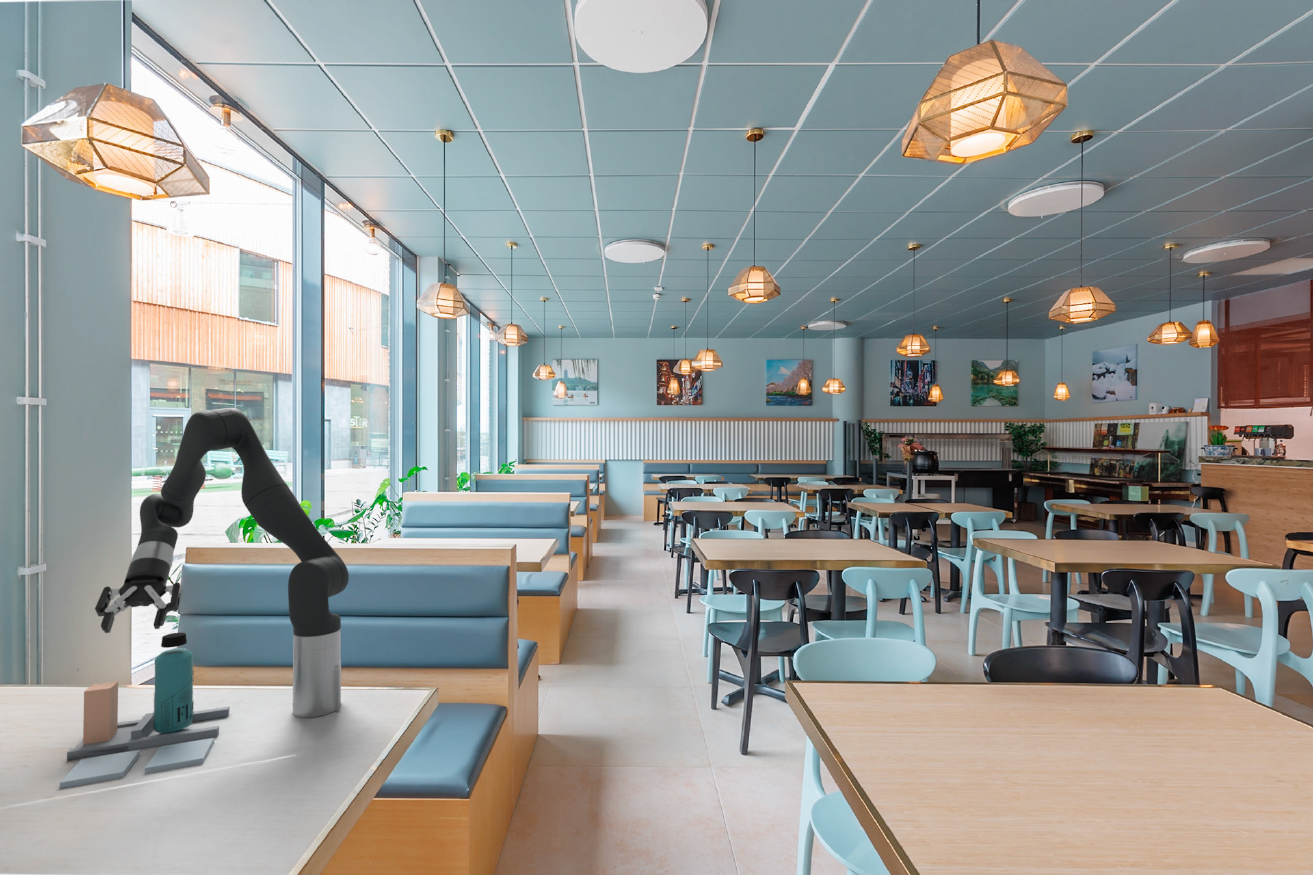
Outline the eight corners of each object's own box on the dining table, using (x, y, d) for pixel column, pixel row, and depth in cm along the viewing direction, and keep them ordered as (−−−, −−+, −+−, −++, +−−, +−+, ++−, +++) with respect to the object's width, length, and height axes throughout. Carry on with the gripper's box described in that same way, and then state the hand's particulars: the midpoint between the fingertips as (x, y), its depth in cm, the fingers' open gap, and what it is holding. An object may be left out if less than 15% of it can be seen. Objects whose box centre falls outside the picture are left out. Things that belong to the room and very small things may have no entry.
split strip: (214, 743, 122) (214, 737, 122) (203, 764, 114) (203, 757, 114) (81, 765, 114) (81, 758, 114) (59, 789, 106) (59, 782, 106)
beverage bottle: (176, 741, 124) (178, 638, 124) (143, 740, 124) (145, 638, 124) (201, 726, 130) (202, 629, 131) (169, 726, 130) (171, 629, 131)
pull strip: (229, 713, 136) (230, 662, 136) (217, 736, 125) (217, 680, 125) (93, 733, 127) (94, 678, 127) (66, 760, 115) (67, 699, 116)
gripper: (107, 558, 140) (84, 623, 129) (185, 554, 146) (169, 616, 135) (115, 577, 145) (93, 641, 134) (190, 573, 150) (175, 634, 140)
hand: (131, 628), depth 134 cm, fingers open, 8 cm apart
